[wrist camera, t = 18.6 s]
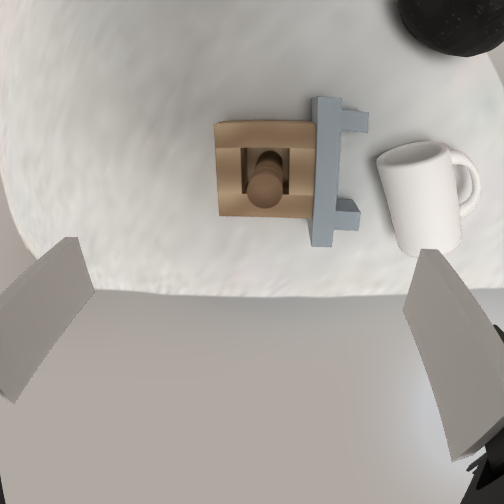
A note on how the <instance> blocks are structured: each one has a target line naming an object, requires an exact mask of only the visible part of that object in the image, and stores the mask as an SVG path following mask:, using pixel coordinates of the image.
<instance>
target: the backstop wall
mask: <svg viewBox="0 0 504 504" xmlns="http://www.w3.org/2000/svg"><path fill="white" fill-rule="evenodd" d="M368 117H369V112H361V111H352V110H342V109H341V98H334V97H320V96H317V97H314V98H312V122H314V123H315V124H316V152H315V178H314V198H313V215H312V218H308V227H309V234H310V240H311V247H332V241H333V231H334V230H354V231H358V229H359V222H360V214H361V212H360V211H359V209H358V207H357V206H356V204H355V203H354V201H353V200H347V199H337V187H338V173H339V156H340V134H341V130H342V131H353V132H363V133H368Z"/></svg>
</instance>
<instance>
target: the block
mask: <svg viewBox="0 0 504 504" xmlns="http://www.w3.org/2000/svg"><path fill="white" fill-rule="evenodd" d="M214 132H215V153H216V172H217V189H218V204H219V216H246V217H284V218H312V215H313V198H314V178H315V152H316V124H315V123H314V122H312V121H294V120H236V121H223V122H219V123H216V124H214ZM265 151H275V152H277V153H278V154H279V155H280V156H281V158H282V161H283V185H282V198H281V200H280V201H279V203H278V204H277V205H275V206H274V207H271V208H267V209H263V208H259V207H256V206H255V205H253V204H252V203H251V202H250V200H249V199H248V196H247V187H248V184H249V181H250V179H251V176H252V174H253V171H254V168H255V166H256V163H257V161H258V158H259V156H260V155H261V154H262V153H263V152H265Z"/></svg>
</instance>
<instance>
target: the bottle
mask: <svg viewBox="0 0 504 504" xmlns="http://www.w3.org/2000/svg"><path fill="white" fill-rule="evenodd" d="M398 8H399V11H400V15H401V18H402V21H403V23H404V25H405V26H406V28H407V30H408V31H409V32H410V33H411V34H412V35H413V36H414V37H415V38H416V39H418V40H419V41H421V42H422V43H424V44H425V45H427V46H428V47H429V48H432V49H434V50H436V51H439V52H441V53H444V54H448V55H453V56H461V57H471V56H475V55H478V54H482V53H485V52H488V51H490V50H492V49H494V48H496V47H497V46H498V45H499V44H501V43H502V42H503V41H504V0H398Z"/></svg>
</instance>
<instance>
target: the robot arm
mask: <svg viewBox="0 0 504 504" xmlns="http://www.w3.org/2000/svg"><path fill="white" fill-rule="evenodd" d="M94 293H95V291H94V288H93V285H92V282H91V279H90V276H89V273H88V270H87V267H86V264H85V261H84V257H83V254H82V251H81V247H80V244H79V240H78V237H65V238H64V239H62V240H61V241H60V242H59V243H57V244H56V245H55V246H54V247H53V248H51V249H50V250H49V251H48V252H47V253H45V254H44V255H43V256H42V257H41V258H40V259H38V260H37V261H36V262H35V263H34V264H33V265H32V266H30V267H29V268H28V269H27V270H26V271H25V272H24V273H23V274H22V275H20V277H18V278H17V279H16V280H15V281H14V282H13V283H12V284H11V285H10V286H9V287H8V288H7V289H6V290H5V291H4V292H3V293H2V294H1V295H0V395H1V396H2V397H3V398H5V399H7V400H8V401H9V402H11V403H13V404H15V402H16V400H17V399H18V397H19V396H20V394H21V393H22V391H23V389H24V388H25V386H26V385H27V383H28V382H29V380H30V379H31V377H32V376H33V374H34V373H35V371H36V370H37V368H38V367H39V365H40V364H41V363H42V361H43V360H44V358H45V357H46V355H47V354H48V353H49V351H50V350H51V349H52V347H53V346H54V344H55V343H56V342H57V340H58V339H59V337H60V336H61V335H62V334H63V332H64V331H65V329H66V328H67V327H68V326H69V324H70V323H71V322H72V320H73V319H74V318H75V317H76V315H77V314H78V313H79V312H80V310H81V309H82V308H83V306H84V305H85V304H86V303H87V301H88V300H89V299H90V298H91V297H92V295H93V294H94ZM403 312H404V315H405V317H406V320H407V322H408V324H409V326H410V329H411V332H412V334H413V337H414V339H415V342H416V345H417V347H418V350H419V352H420V355H421V358H422V361H423V363H424V366H425V369H426V372H427V375H428V377H429V380H430V384H431V387H432V390H433V393H434V396H435V399H436V402H437V406H438V409H439V413H440V416H441V419H442V423H443V427H444V431H445V435H446V438H447V442H448V447H449V451H450V455H451V460H452V462H454V461H457V460H460V459H463V458H466V457H469V456H472V455H473V454H475V453H476V452H477V451H478V450H480V449H481V448H482V447H483V446H484V445H485V448H486V453H485V454H484V455H482V456H481V457H480V458H479V459H477V460H476V461H474V462H473V463H472V464H471V465H469V467H468V468H467V470H466V471H468V472H469V471H470V470H472V469H473V468H474V467H476V466H477V465H478V467H477V469H476V470H475V471H474V472H473V474H474V476H473V478H472V481H471V483H470V485H469V487H468V489H467V492H466V493H465V496H464V497H463V499H462V501H461V503H460V504H504V332H503V331H502V330H501V329H500V328H499V327H498V326H497V325H492V323H491V322H490V320H489V319H488V317H487V315H486V314H485V312H484V311H483V309H482V308H481V306H480V305H479V304H478V302H477V301H476V299H475V298H474V296H473V295H472V293H471V292H470V291H469V289H468V288H467V286H466V285H465V284H464V282H463V281H462V280H461V278H460V277H459V275H458V274H457V273H456V272H455V270H454V269H453V268H452V266H451V265H450V264H449V262H448V261H447V260H446V259H445V257H444V256H443V255H442V254H441V252H440V251H439V250H438V249H421V250H420V253H419V257H418V261H417V265H416V268H415V272H414V275H413V279H412V282H411V285H410V288H409V292H408V295H407V298H406V301H405V304H404V307H403ZM0 504H6V503H5V499H4V494H3V489H2V484H1V478H0Z"/></svg>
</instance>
